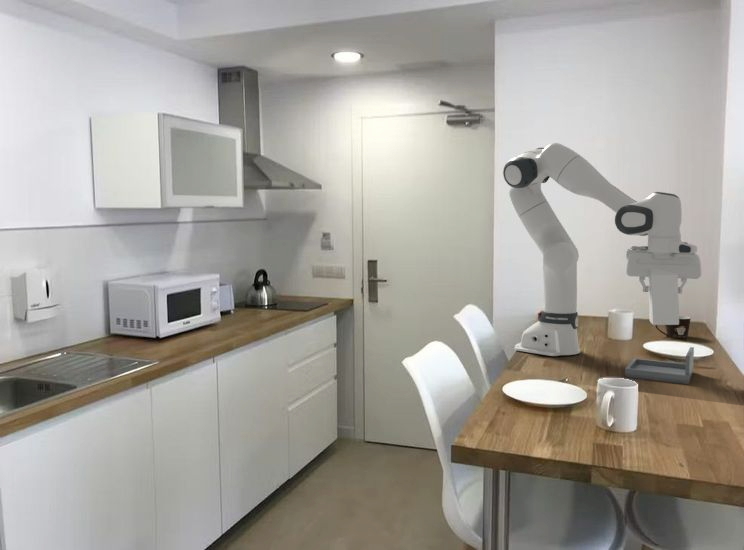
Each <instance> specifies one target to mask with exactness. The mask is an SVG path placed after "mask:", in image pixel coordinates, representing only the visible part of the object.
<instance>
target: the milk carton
mask: <svg viewBox="0 0 744 550" xmlns="http://www.w3.org/2000/svg"><path fill="white" fill-rule="evenodd" d="M650 271H651V275H650V277H647V282H648V283H647V286H649V288H648V289H649V292H648V314H649V316H648V317H649V322H650V324H652V326H655V325H657V326H666V325H679V316H680V312H679V311H680V309H679V308H680V307H679V294H678V287H679V278H678V273H674V272H669V271H663V270H658V269H653V268H650Z"/></svg>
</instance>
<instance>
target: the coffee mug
mask: <svg viewBox="0 0 744 550" xmlns="http://www.w3.org/2000/svg"><path fill="white" fill-rule="evenodd" d="M690 324H691V317H690V316H685V315H679V325H665V326H666V332H663V331H662V330H661V329H660V328H659V327H658V325H654V326H655V328H656V329H657V330H658V332H660V333H661V334H663V335H665V336H666V338H669V339H674V340H686V339H688V336H689V330H690Z"/></svg>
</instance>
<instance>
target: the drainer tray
mask: <svg viewBox="0 0 744 550" xmlns="http://www.w3.org/2000/svg"><path fill="white" fill-rule="evenodd" d="M694 349H695V347H692V346H690V347H689V349H688V351H687V353H686V355H685V363H684V362H674V361H665V360H664V361H663V360H655V359H644V358H634V357H633V358H632V360H631V361H630V362H629V363H628V364H627V366H626V367H624V377H626V378H633V379H639V380H641V379H643V380H649V381H656V382H667V383H674V384H683V385H689V384H690V381H691V379H692V377H693V373H694V355H695V351H694Z"/></svg>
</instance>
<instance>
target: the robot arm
mask: <svg viewBox="0 0 744 550" xmlns="http://www.w3.org/2000/svg"><path fill="white" fill-rule="evenodd" d="M502 174H503V179H504V181H505V182H506V184H507V185H508V186H510V189H509V192H508V194H509V197H510V201H511V204H512V205H513V208H514V210H515V212H516V214H517V216H518V218H519V219H520V221H521V223H522V224H523V226H524V228H525V230H526V231H527V233H528V235H529V236H530V238H531V239H532V241H533V242H534V243H535V245H536V246H537V247H538V249H539V251H540V252H541V254H542V270H543V271H542V272H543V275H542V276H543V309H542V310H540V311H539V312H538V313H537V316H536V317H537V320H538V321H536V322H535V323H533V324H532V325H530V326H529V327H527V329H525V330H524V331H523V332H522V335H521V339H520V342H518V343H516V344H515V345H514V350H515V351H518V352H525V353H530V354H537V355H543V356H550V357H558V356H572V355H574V356H575V355H578V354H580V353H581V349H580V345H579V344H580V343H579V340H578V331H577V330H578V329H577V328H578V326H579V315H578V311H577V306H578V305H577V304H578V303H577V302H578V297H577V296H578V284H577V283H578V273H577V272H578V269H577V268H578V260H579V257H580V256H579V251H578V248H577V247H576V245H575V243H574V241H573V240H572V238H571V237H570V236H569V234H568V232H567V231H566V229H565V228H564V226H563V224H562V222H561V221H560V220H559V218H558V217H557V214H556V213H555V211H554V210H553V208H552V206H551V205H550V203H549V201H548V200H547V198H546V196H545V194H544V193H543V191H542V186H541V185H542V184H545V183H547V182H548V180H550V179H552V180H553V181H555V182H556V184H558V185H559V186H560V187H562V188H563V189H565V190H566V191H569V192H571V193H572V194H575V195H577V196H583V197H587V198H590V199H594V200H597V201H599V202H601V203H602V204H604V205H605V206H606V207H608V208H609V209H610V210H612V211H613V212H615V216H614V224H615V227H616V228H617V230H618V231H619V232H620V233H622V234H625V235H627V236H641V237H647V246H646V245H645V246H644V245H642V246H637V245H635V246H631V247H629V248H628V249H626V255H625V257H626V259H627V264H626V274H627V276H629V277H638V279H639V283H640V284H641V286H642V292H644V293H649V289H648V288H649V286H648V285H646V283H645V280H646V278H648V277H650V275H651V271H650V268H653V269H658V270H663V271H669V272H674V273H678V279H680V283H681V284H680V286H678V295H680V294H681V295H682V294H683V288H684V287H685V285H686V284H687V282H688V279H689V280H698V279H700V277H701V276H702V264H701V259H700V256H699V255H698V254H697V253H698V247H697V245H695V244H691V243H688V242H685V241H682V236H681V231H680V227H681V224H682V214H683V213H682V201H681V198H680V197H679V196H678V195H677V194H675V193H668V192H662V191H653V192H652V193H651V194H650V195H649V196H647V197H645V198H642V199H640V200H638V201H637V200H634V199H633V198H632V197H630V196H629V195H627V194H626V193H624V192H623V191H622V190H620V189H619V188H617V187H616V186H615V185H613V184H612V183H611V182H610V181H609V180H607V178H605V176H603V175H602V174H601V173H600V172H599V171H598V170H597V169H596V167H595V166H594V165H592V164H591V163H590V162H589V161H588V160H587V159H586V158H585V157H584V156H583V155H582V156H581V154H579V153H578V152H576V151H574V150H572V149H571V148H569V147H568V146H566V145H564V144H562V143H558V142H552V143H550V144H548V145H547V146H544V147H538V148H535V149H531V150H528V151H525V152H523V153H522V154H519V155H518V156H515V157H512V158H511V159H509V160H508V161H507V162H506V163H505V165H504V167H503V171H502Z"/></svg>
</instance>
